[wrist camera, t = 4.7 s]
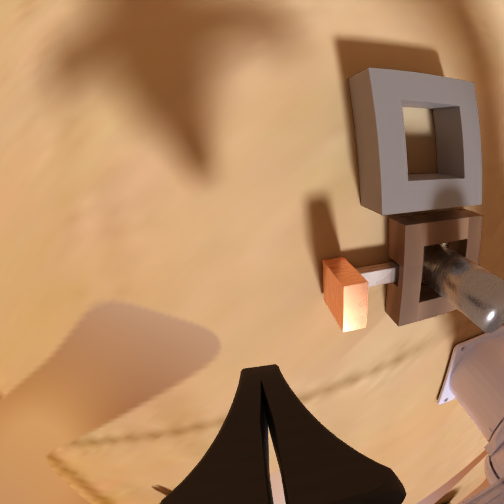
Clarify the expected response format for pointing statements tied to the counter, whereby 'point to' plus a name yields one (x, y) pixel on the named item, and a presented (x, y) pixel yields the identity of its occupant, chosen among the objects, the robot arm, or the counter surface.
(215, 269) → the counter surface
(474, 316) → the rounded metal peg
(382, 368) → the counter surface
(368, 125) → the block
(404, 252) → the socket block
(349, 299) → the pin
